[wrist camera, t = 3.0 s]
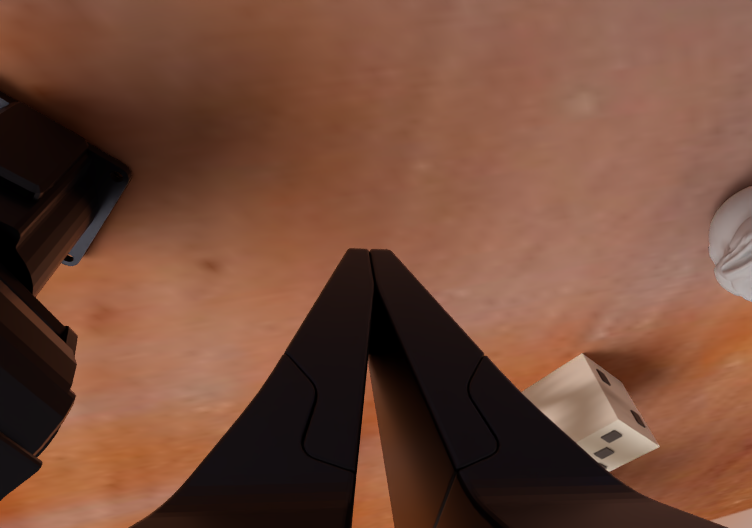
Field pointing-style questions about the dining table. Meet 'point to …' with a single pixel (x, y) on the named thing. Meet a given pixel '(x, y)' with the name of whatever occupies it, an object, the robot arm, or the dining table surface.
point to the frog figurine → (733, 244)
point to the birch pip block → (593, 412)
